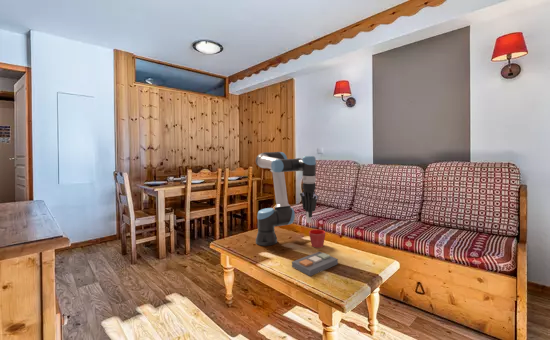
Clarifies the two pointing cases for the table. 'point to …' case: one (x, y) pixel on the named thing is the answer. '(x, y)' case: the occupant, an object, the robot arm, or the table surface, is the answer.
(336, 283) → the table surface
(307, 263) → the rust button
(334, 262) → the button panel
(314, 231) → the flower pot
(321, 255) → the sage button
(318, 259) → the cream button
